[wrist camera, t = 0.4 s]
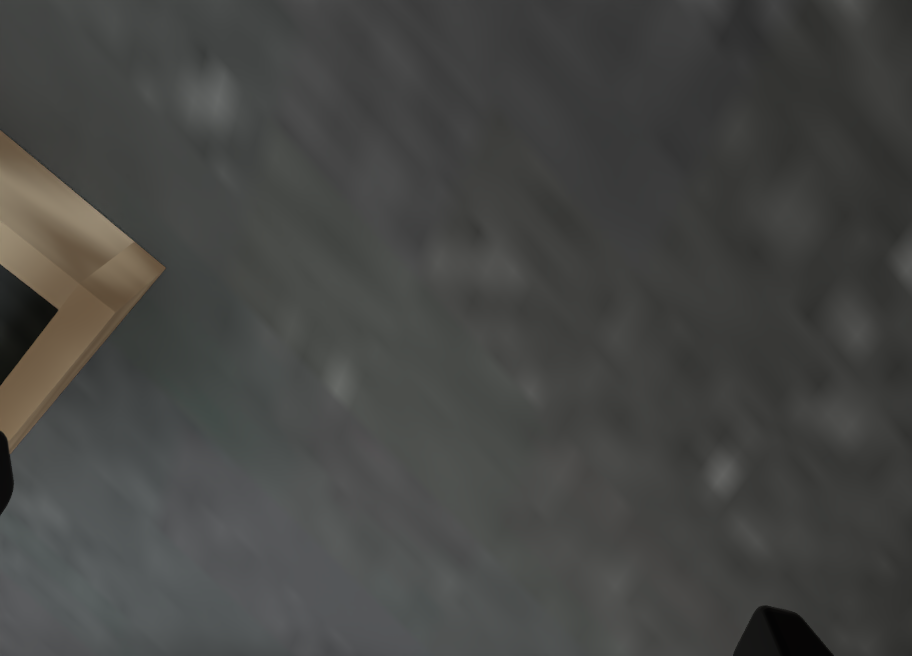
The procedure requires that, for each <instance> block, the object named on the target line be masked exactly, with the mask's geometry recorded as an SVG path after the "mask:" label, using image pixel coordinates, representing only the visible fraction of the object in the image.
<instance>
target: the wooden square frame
mask: <svg viewBox="0 0 912 656" xmlns="http://www.w3.org/2000/svg"><path fill="white" fill-rule="evenodd" d="M0 264H1V265H2V266H3V267H5V268H6V269H7V270H9V271H10V272H11V273H12V274H14V275H15V276H16V277H17V278H19V279H20V280H21V281H23V282H24V283H25V284H26V285H28V286H29V287H30V288H32V289H33V290H34V291H35V292H37V293H38V294H39V295H40V296H42V297H43V298H44V299H46V300H47V301H48V302H49V303H51V304H52V305H53V306H55V307H56V308H57V309H58V312H57V313H56V314H55V316H54V317H53V318H52V320H51V321H50V322H49V323H48V325H47V326H46V327H45V329H44V330H43V331H42V333H41V334H40V335H39V336H38V338H37V339H36V340H35V342H34V343H33V344H32V346H31V347H30V348H29V349H28V351H27V352H26V353H25V355H24V356H23V357H22V359H21V360H20V361H19V362H18V364H17V365H16V366H15V368H14V369H13V370H12V372H11V373H10V374H9V375H8V377H7V378H6V379H5V381H4V382H3V383H2V385H1V386H0V431H2V432H3V433H4V434H5V436H6V437H7V440H8V446H9V452H10V454H11V453H12V451H13V450H14V449H15V448H16V447H17V445H18V444H19V443H20V442H21V441H22V439H23V438H24V437H25V436H26V435H27V433H28V432H29V431H30V430H31V429H32V427H33V426H34V425H35V424H36V423H37V421H38V420H39V419H40V418H41V417H42V416H43V414H44V413H45V412H46V411H47V410H48V408H49V407H50V406H51V405H52V404H53V402H54V401H55V400H56V399H57V398H58V396H59V395H60V394H61V393H62V392H63V390H64V389H65V388H66V387H67V386H68V384H69V383H70V382H71V381H72V380H73V379H74V377H75V376H76V375H77V374H78V373H79V371H80V370H81V369H82V368H83V367H84V365H85V364H86V363H87V362H88V361H89V359H90V358H91V357H92V356H93V355H94V353H95V352H96V351H97V350H98V349H99V347H100V346H101V345H102V344H103V343H104V341H105V340H106V339H107V338H108V337H109V336H110V334H111V333H112V332H113V331H114V330H115V328H116V327H117V326H118V325H119V324H120V322H121V321H122V320H123V319H124V318H125V316H126V315H127V314H128V313H129V312H130V310H131V309H132V308H133V307H134V306H135V304H136V303H137V302H138V301H139V300H140V299H141V297H142V296H143V295H144V294H145V293H146V291H147V290H148V289H149V288H150V287H151V285H152V284H153V283H154V282H155V281H156V279H157V278H158V277H159V276H160V275H161V273H162V272H163V271H164V270H165V269H166V268H165V267H164V266H163V265H162V264H161V263H159V262H158V261H157V260H156V259H155V258H153V257H152V256H151V255H150V254H149V253H147V252H146V251H145V250H144V249H143V248H141V247H140V246H139V245H138V244H137V243H135V242H134V241H133V240H132V239H131V238H129V237H128V236H127V235H126V234H124V233H123V232H122V231H121V230H120V229H118V228H117V227H116V226H115V225H114V224H112V223H111V222H110V221H109V220H108V219H106V218H105V217H104V216H103V215H102V214H100V213H99V212H98V211H97V210H96V209H94V208H93V207H92V206H91V205H90V204H88V203H87V202H86V201H85V200H84V199H82V198H81V197H80V196H79V195H78V194H76V193H75V192H74V191H73V190H72V189H70V188H69V187H68V186H67V185H66V184H64V183H63V182H62V181H61V180H60V179H58V178H57V177H56V176H55V175H54V174H52V173H51V172H50V171H49V170H48V169H46V168H45V167H44V166H43V165H41V164H40V163H39V162H38V161H37V160H35V159H34V158H33V157H32V156H31V155H29V154H28V153H27V152H26V151H25V150H23V149H22V148H21V147H20V146H19V145H17V144H16V143H15V142H14V141H13V140H11V139H10V138H9V137H8V136H7V135H5V134H4V133H3V132H2V131H1V130H0Z"/></svg>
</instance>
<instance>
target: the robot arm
mask: <svg viewBox="0 0 912 656" xmlns="http://www.w3.org/2000/svg"><path fill="white" fill-rule="evenodd" d="M13 486H14V480H13V473H12V466H11V459H10V452H9V446H8V440H7V437H6V436H5V434H4V433H3V432H2V431H0V515H1V514H2V512H3V511H4V509H5V508H6V506H7V504H8V502H9V500H10V498H11V496H12V492H13ZM733 656H834V655H833V654H832V653H831V652H830V650H829V649H828V648H827V647H826V646H825V644H824V643H823V642H822V641H821V640H820V638H819V637H818V636H817V635H816V634H815V633H814V631H813V630H812V629H811V628H810V627H809V625H808V624H807V623H806V622H805V621H804V619H803V618H802V617H801V616H799V615H798V614H797V613H795V612H792V611H788V610H784V609H780V608H775V607H771V606H760V607H759V608H757V609H756V611H755V612H754V614H753V615H752V617H751V619H750V621H749V623H748V625H747V627H746V629H745V631H744V633H743V635H742V637H741V639H740V641H739V643H738V645H737V647H736V649H735V651H734V654H733Z"/></svg>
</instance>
